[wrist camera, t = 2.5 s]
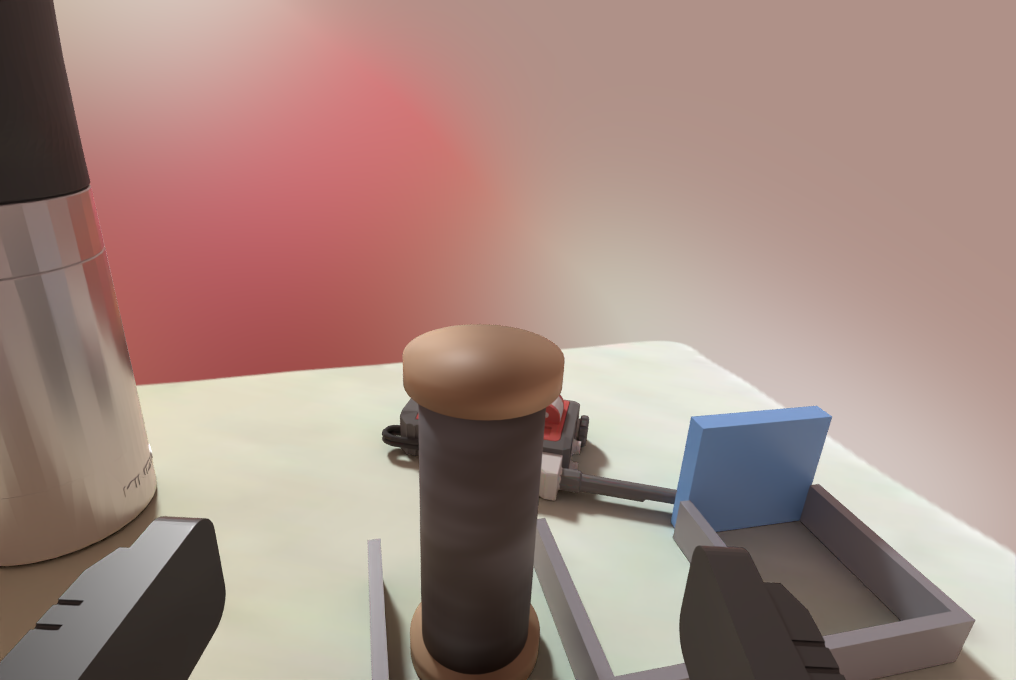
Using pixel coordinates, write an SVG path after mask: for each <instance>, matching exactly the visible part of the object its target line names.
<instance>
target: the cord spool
mask: <svg viewBox="0 0 1016 680" xmlns="http://www.w3.org/2000/svg"><path fill="white" fill-rule="evenodd" d="M563 372H564V355H563V353H562V351H561V350H560V348H559V347H558V346H557V345H555V344H554V343H553V342H551V341H550V340H548V339H547V338H544V337H542V336H540V335H538V334H535V333H533V332H529V331H526V330H522V329H518V328H513V327H507V326H500V325H486V324H472V325H471V324H470V325H459V326H451V327H445V328H441V329H437V330H433V331H430V332H427V333H425V334H423V335H420V336H418V337H417V338H415V339H414V340H412V341H411V342H410V343H409V344H408V345H407V346H406V347H405V349H404V351H403V385H404V388H405V391H406V392H407V394H408V395H409V396H410V397H411V398H412V399H413V400H414V401H415V402H416V403H418V422H419V483H420V545H421V603H420V604H419V606H418V607H417V609H416V611H415V613H414V615H413V618H412V621H411V627H410V646H411V658H412V663H413V666H414V668H415V670H416V672H417V674H418V676H419V677H420V679H421V680H527V678H528V677H529V676H530V674H531V672H532V670H533V669H534V666H535V664H536V661H537V656H538V647H539V636H540V627H539V621H538V617H537V614H536V612H535V610H534V608H533V606H532V605H531V603H530V602H531V590H532V577H533V565H534V552H535V540H536V527H537V515H538V502H539V490H540V477H541V465H542V452H543V440H544V427H545V415H546V407H548V406H549V405H550V404H552V403H553V402H554V401H555V400H556V399H557V398H558V396H559V395H560V393H561V390H562V383H563Z"/></svg>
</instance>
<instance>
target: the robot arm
mask: <svg viewBox="0 0 1016 680" xmlns="http://www.w3.org/2000/svg"><path fill="white" fill-rule="evenodd" d="M152 458H153V456H152V452H151V448H150V444H149V443H148V438H147V434H146V429H145V425H144V419H143V415H142V411H141V406H140V402H139V397H138V393H137V388H136V384H135V379H134V375H133V370H132V366H131V362H130V357H129V353H128V348H127V344H126V339H125V335H124V330H123V326H122V321H121V316H120V312H119V308H118V303H117V299H116V294H115V290H114V285H113V281H112V277H111V272H110V267H109V263H108V258H107V254H106V249H105V247H104V242H103V236H102V232H101V227H100V223H99V219H98V214H97V210H96V205H95V201H94V196H93V192H92V188H91V186H90V179H89V175H88V170H87V166H86V162H85V158H84V153H83V149H82V144H81V140H80V135H79V130H78V125H77V121H76V116H75V111H74V107H73V102H72V97H71V93H70V87H69V83H68V78H67V73H66V69H65V64H64V60H63V55H62V49H61V43H60V38H59V32H58V26H57V21H56V15H55V9H54V3H53V0H0V566H12V565H21V564H30V563H35V562H39V561H44V560H48V559H53V558H56V557H59V556H62V555H65V554H68V553H71V552H74V551H77V550H80V549H82V548H84V547H87V546H89V545H91V544H93V543H96V542H98V541H100V540H102V539H104V538H106V537H107V536H109V535H111V534H113V533H114V532H116V531H118V530H119V529H121V528H122V527H124V526H125V525H126V524H128V523H129V522H130V521H132V520H133V519H134V518H136V517H137V516H138V515H139V514H140V513H141V512H142V511H143V510H144V509H145V508H146V506H147V505H148V504H149V502H150V501H151V499H152V497H153V496H154V493H155V490H156V487H157V481H156V475H155V470H154V466H153V460H152ZM225 595H226V591H225V583H224V578H223V572H222V567H221V561H220V556H219V550H218V545H217V540H216V534H215V529H214V526H213V523H212V522H211V521H210V520H209V519H206V518H186V517H167V516H162V517H159V518H157V519H155V520H154V521H153V522H152V523H151V524H150V525H149V526H148V527H147V528H146V530H145V531H144V532H143V533H142V534H141V535H140V536H139V538H138V539H137V540H136V541H135V542H134V543H133V545H132V546H131V547H130V548H123V547H119V548H118V549H116V550H115V551H113V552H112V553H110V554H109V555H107V556H106V557H104V558H103V559H101V560H100V561H98V562H97V563H95V564H94V565H92V566H91V567H89V568H88V569H86V570H85V571H84V572H83V573H82V574H81V575H80V576H79V577H78V578H77V579H76V580H75V581H74V583H73V584H72V585H71V586H70V587H69V588H68V589H67V590H66V591H65V592H64V593H63V595H62V596H61V597H60V598H59V599H58V603H57V605H52V606H51V608H50V609H49V610H48V611H47V612H46V613H45V614H44V615H43V616H42V617H41V618H40V620H39V621H38V622H37V623H36V627H35V629H34V630H29V631H28V633H27V634H26V635H25V636H24V637H23V638H22V639H21V640H20V641H19V642H18V643H17V645H16V646H15V647H14V648H13V649H12V650H11V651H10V652H9V653H8V654H7V655H6V656H5V658H4V659H3V660H2V661H1V662H0V680H188V678H189V676H190V674H191V673H192V671H193V669H194V667H195V666H196V664H197V662H198V661H199V659H200V657H201V655H202V654H203V652H204V650H205V648H206V647H207V645H208V643H209V641H210V640H211V638H212V636H213V634H214V633H215V631H216V629H217V627H218V625H219V622H220V620H221V617H222V613H223V610H224V605H225ZM679 631H680V643H681V649H682V654H683V658H684V662H685V665H686V669H687V672H688V676H689V679H690V680H846V679H845V677H844V675H841V674H840V671H839V666H838V664H837V662H836V660H835V659H834V657H833V655H832V653H831V651H830V649H829V648H826V646H825V640H824V638H823V637H822V635H821V633H820V631H819V629H818V628H817V626H816V624H815V622H814V620H813V618H812V617H811V615H810V613H809V611H808V610H807V609H806V608H805V607H804V606H803V605H802V604H801V603H800V602H799V601H798V600H797V599H796V598H795V597H794V596H793V595H792V594H791V593H790V592H789V591H788V590H787V589H786V588H785V587H784V586H783V585H782V584H781V583H765V582H763V581H762V578H761V576H760V574H759V572H758V570H757V568H756V566H755V564H754V562H753V560H752V558H751V556H750V554H749V553H748V551H747V550H746V549H744V548H739V547H720V546H700V545H699V546H696V547H695V549H694V551H693V555H692V559H691V564H690V569H689V574H688V579H687V583H686V588H685V593H684V598H683V603H682V607H681V613H680V623H679Z"/></svg>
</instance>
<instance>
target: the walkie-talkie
mask: <svg viewBox="0 0 1016 680" xmlns="http://www.w3.org/2000/svg"><path fill="white" fill-rule="evenodd" d="M579 409H580V404H579V403H577V402H575V401H569V400H563V398H562V397H561V395H559V396H558V398H557V399H556V400H555V401H554V402H553V403H552V404H550V405H549V406H548V407H546V415H545V427H544V440H543V452H542V465H541V477H540V490H539V496H540V497H542V498H543V499H547V500H553V501H555V500H556V496H557V492H558V490H563V491H569V492H575V493H578V492H580V491H582V492H588V493H594V494H600V495H606V496H611V497H617V498H623V499H629V500H634V501H640V502H643V501H644V500H652V501H658V502H664V503H670V504H674V503H675V498H676V493H677V490H674V489H668V488H662V487H657V486H651V485H645V484H639V483H633V482H627V481H621V480H615V479H610V478H604V477H598V476H592V475H586V474H582V473H581V471H577V470H578V463H577V462H572V460H571V458H572V455H573V453H574V454H580V448H581V446H584V445H586V439H587V432H588V424H589V417H588V416H585V415H583V416H581V419H578V418H579ZM382 435H383V437H382V440H383V441H384V443H386V444H388V445H391V446H395V447H401V449H402V450H403V451H404V452H405V453H406V454H407V455H408V454H411V455H413V456H416V455H417V456H419V422H418V403H416V402H415V401H414V400H413V399H412V398H411V399H410V400H409V402H408V403H407V404H406V405H405V407H404V408H403V410H402V412H401V415H400V425H391V426H388V427H387V428H385V429H384V430H383V432H382ZM400 436H401V437H400Z"/></svg>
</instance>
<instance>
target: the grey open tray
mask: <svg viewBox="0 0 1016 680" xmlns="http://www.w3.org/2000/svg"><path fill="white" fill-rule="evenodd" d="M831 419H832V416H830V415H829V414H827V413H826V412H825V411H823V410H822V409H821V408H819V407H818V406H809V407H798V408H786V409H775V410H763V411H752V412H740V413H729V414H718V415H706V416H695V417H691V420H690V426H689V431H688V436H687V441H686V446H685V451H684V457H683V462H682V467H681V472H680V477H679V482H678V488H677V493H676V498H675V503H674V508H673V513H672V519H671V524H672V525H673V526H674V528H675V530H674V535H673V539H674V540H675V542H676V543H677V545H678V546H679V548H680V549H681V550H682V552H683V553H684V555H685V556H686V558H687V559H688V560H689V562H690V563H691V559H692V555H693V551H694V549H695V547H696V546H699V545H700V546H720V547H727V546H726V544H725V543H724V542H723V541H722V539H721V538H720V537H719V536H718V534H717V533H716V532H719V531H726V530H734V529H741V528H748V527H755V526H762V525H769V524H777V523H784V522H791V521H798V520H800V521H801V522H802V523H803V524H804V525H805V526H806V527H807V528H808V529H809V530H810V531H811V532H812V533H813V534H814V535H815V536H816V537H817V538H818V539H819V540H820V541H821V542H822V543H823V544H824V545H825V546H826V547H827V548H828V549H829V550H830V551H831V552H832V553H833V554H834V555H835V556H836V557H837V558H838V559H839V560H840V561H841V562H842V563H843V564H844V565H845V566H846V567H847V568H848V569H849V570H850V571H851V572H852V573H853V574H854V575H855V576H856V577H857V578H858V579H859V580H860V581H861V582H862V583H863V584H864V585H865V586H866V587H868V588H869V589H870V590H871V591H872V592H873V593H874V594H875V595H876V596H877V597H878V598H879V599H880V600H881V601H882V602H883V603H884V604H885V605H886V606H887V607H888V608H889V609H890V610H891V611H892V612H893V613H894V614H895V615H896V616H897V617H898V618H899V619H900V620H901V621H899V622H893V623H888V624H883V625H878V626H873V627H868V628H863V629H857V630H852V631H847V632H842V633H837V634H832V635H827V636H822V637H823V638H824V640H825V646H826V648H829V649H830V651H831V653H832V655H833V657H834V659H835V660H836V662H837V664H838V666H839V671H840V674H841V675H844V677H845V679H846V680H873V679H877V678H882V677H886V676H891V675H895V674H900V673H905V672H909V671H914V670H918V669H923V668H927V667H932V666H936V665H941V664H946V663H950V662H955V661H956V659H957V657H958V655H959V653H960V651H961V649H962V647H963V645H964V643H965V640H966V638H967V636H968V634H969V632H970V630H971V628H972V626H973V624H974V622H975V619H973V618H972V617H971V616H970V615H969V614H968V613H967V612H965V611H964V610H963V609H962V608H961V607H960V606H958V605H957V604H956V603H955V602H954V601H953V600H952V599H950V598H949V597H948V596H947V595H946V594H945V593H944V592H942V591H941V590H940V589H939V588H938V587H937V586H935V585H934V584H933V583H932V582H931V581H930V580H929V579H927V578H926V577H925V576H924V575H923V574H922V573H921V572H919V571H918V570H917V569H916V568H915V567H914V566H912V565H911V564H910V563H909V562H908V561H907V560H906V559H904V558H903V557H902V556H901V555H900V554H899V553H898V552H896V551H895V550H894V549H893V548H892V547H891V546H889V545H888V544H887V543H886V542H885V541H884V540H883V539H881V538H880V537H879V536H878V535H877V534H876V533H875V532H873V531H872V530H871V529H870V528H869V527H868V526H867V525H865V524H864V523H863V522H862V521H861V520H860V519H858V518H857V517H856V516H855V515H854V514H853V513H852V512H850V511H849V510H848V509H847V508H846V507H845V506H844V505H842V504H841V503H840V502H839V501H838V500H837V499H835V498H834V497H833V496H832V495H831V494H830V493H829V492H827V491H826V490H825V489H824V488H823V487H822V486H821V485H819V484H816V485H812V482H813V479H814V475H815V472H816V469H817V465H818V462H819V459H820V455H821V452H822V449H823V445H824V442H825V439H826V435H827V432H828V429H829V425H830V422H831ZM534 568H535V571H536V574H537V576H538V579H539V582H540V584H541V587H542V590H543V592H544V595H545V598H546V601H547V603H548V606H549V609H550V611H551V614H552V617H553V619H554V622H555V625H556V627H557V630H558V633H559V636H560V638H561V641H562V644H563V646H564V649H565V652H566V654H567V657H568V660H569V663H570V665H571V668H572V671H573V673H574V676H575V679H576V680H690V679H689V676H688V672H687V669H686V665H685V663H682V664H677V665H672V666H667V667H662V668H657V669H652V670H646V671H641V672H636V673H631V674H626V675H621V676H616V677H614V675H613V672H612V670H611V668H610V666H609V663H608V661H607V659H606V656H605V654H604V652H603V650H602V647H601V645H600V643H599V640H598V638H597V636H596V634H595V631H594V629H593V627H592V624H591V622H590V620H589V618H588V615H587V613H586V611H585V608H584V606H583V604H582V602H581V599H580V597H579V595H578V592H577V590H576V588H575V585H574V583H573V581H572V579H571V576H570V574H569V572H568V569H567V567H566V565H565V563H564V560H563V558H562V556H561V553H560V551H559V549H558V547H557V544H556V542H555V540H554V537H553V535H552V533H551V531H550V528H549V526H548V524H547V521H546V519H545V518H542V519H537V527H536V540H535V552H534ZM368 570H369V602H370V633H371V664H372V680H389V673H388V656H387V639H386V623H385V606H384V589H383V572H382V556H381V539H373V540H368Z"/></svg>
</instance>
